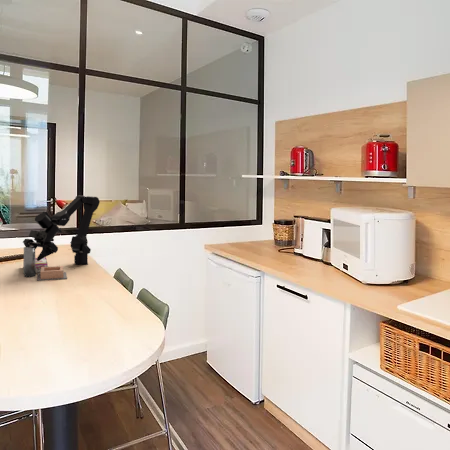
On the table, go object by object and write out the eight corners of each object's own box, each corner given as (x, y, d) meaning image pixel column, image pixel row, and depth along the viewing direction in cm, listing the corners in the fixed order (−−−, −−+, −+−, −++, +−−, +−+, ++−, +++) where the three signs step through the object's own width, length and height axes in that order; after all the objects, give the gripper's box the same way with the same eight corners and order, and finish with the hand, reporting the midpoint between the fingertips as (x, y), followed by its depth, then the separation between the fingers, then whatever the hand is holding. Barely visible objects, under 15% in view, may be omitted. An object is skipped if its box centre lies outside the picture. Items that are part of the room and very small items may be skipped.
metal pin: (35, 274, 196) (35, 246, 195) (35, 276, 192) (34, 248, 190) (24, 275, 194) (24, 246, 193) (23, 277, 190) (23, 248, 188)
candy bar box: (46, 256, 215) (48, 263, 201) (46, 265, 216) (48, 272, 201) (22, 257, 210) (23, 264, 195) (23, 267, 210) (23, 274, 196)
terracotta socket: (66, 272, 202) (66, 265, 201) (66, 279, 190) (66, 271, 189) (38, 274, 197) (37, 266, 196) (36, 280, 185) (36, 272, 184)
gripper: (25, 222, 199) (6, 247, 190) (53, 225, 192) (34, 251, 183) (38, 236, 207) (20, 260, 198) (65, 239, 200) (48, 265, 191)
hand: (30, 259), depth 192 cm, fingers open, 9 cm apart
